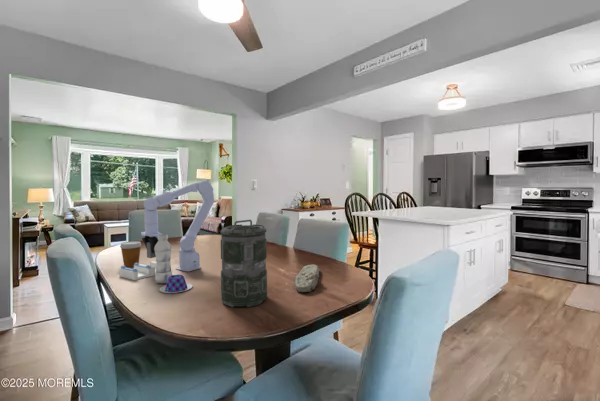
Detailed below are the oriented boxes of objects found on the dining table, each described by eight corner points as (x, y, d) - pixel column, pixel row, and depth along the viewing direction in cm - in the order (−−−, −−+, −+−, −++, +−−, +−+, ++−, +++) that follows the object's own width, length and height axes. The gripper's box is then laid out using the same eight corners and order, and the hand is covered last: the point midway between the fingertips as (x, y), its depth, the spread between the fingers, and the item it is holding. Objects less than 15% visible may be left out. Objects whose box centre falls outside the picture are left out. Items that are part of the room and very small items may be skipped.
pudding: (156, 288, 121) (156, 275, 121) (187, 282, 128) (187, 270, 128) (163, 297, 112) (162, 282, 111) (196, 290, 119) (196, 277, 118)
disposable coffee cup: (135, 268, 150) (134, 244, 150) (116, 268, 150) (115, 244, 150) (145, 264, 160) (145, 241, 159) (127, 264, 160) (127, 241, 160)
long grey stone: (322, 272, 147) (301, 273, 148) (321, 261, 147) (301, 262, 149) (317, 293, 113) (291, 294, 114) (317, 279, 113) (290, 279, 114)
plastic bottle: (166, 285, 124) (165, 236, 123) (151, 284, 125) (150, 236, 124) (175, 281, 130) (174, 234, 129) (161, 280, 131) (160, 233, 131)
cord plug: (156, 256, 145) (156, 242, 144) (150, 258, 142) (150, 243, 142) (153, 256, 146) (152, 241, 146) (147, 257, 144) (146, 242, 143)
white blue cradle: (168, 271, 145) (167, 262, 145) (134, 280, 131) (134, 269, 131) (153, 268, 151) (152, 259, 151) (119, 276, 138) (119, 266, 137)
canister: (246, 289, 119) (246, 217, 118) (276, 298, 109) (275, 219, 108) (211, 301, 107) (210, 220, 105) (241, 312, 96) (240, 224, 95)
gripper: (134, 223, 144) (135, 252, 145) (152, 225, 136) (153, 255, 137) (148, 222, 150) (149, 249, 151) (166, 223, 142) (167, 252, 143)
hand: (152, 252), depth 144 cm, fingers closed on cord plug, 3 cm apart
